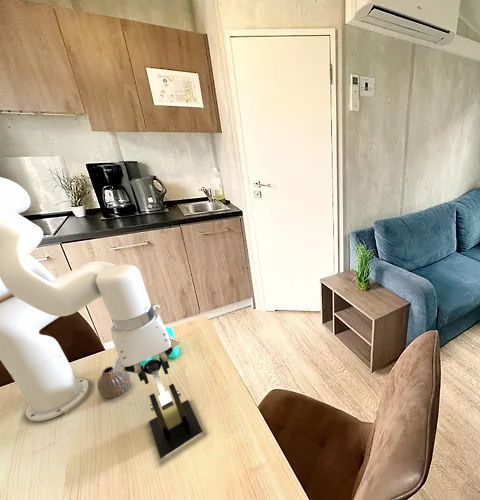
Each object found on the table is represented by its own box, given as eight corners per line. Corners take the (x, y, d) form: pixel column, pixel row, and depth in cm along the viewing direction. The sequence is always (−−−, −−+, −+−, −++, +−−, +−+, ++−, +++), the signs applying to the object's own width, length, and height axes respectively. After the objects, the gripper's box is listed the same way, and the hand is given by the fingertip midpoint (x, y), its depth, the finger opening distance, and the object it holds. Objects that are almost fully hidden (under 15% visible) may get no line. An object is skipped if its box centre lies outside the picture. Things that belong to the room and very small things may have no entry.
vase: (117, 405, 76) (105, 382, 73) (96, 401, 78) (84, 377, 74) (139, 384, 83) (130, 362, 79) (119, 380, 84) (109, 358, 80)
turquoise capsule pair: (142, 356, 92) (132, 332, 88) (176, 343, 98) (169, 320, 94) (144, 376, 85) (134, 351, 81) (181, 361, 91) (174, 336, 87)
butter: (161, 417, 72) (158, 410, 71) (178, 407, 75) (175, 400, 74) (166, 431, 69) (163, 424, 68) (184, 420, 71) (181, 413, 70)
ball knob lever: (143, 368, 72) (140, 361, 70) (159, 360, 74) (157, 353, 72) (160, 413, 66) (157, 407, 63) (177, 404, 68) (175, 397, 66)
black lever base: (150, 424, 72) (135, 390, 67) (188, 402, 77) (177, 369, 72) (162, 462, 64) (146, 426, 59) (203, 434, 69) (192, 400, 64)
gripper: (170, 296, 72) (187, 351, 80) (85, 325, 62) (113, 385, 70) (178, 309, 68) (195, 366, 75) (87, 343, 57) (117, 405, 65)
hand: (155, 375), depth 72 cm, fingers closed on ball knob lever, 3 cm apart
